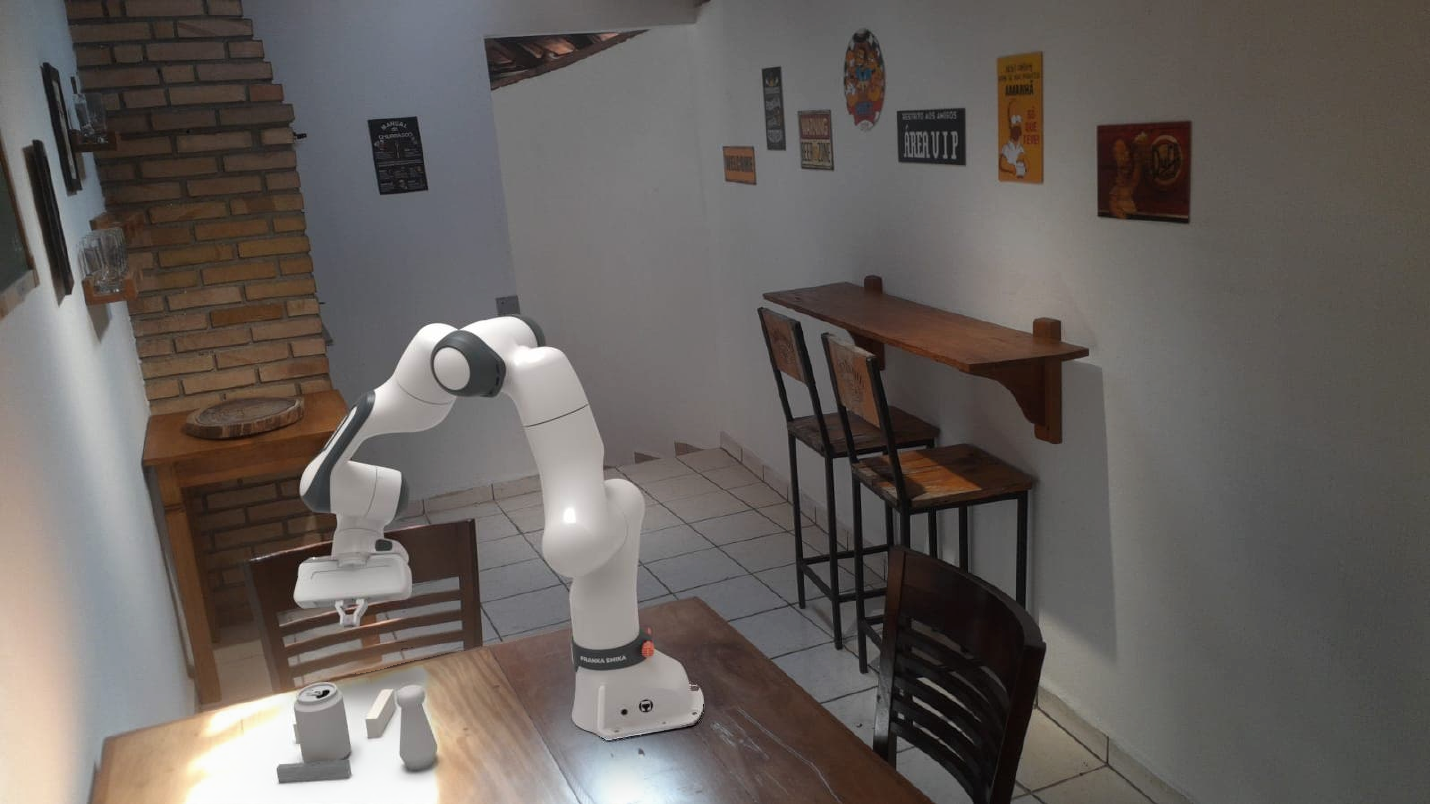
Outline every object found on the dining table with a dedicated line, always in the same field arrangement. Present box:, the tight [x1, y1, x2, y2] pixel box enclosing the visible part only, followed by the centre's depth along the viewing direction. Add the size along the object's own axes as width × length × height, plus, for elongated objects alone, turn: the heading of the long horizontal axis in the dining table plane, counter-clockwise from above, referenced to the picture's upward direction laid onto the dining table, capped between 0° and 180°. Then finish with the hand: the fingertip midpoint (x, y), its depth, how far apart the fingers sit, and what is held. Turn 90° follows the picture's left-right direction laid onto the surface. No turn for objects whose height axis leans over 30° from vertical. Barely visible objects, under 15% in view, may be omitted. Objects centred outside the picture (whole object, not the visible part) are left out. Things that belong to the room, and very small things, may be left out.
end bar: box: [276, 759, 352, 784], centre depth 169 cm, size 11×1×2 cm, turn 91°
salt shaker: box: [395, 684, 438, 771], centre depth 170 cm, size 6×6×13 cm
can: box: [293, 681, 352, 763], centre depth 174 cm, size 8×8×12 cm
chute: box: [292, 688, 397, 744], centre depth 185 cm, size 14×10×4 cm
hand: (349, 626), depth 189 cm, fingers closed
